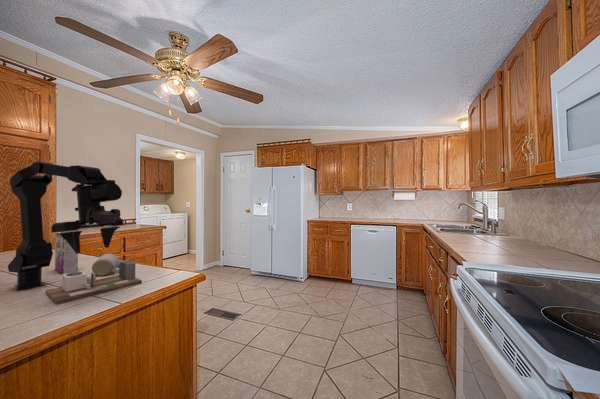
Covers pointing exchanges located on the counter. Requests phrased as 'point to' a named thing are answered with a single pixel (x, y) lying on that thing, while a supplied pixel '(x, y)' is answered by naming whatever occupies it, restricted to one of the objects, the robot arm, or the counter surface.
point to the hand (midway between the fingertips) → (93, 250)
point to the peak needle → (92, 280)
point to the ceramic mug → (106, 265)
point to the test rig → (98, 285)
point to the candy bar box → (65, 256)
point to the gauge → (75, 281)
